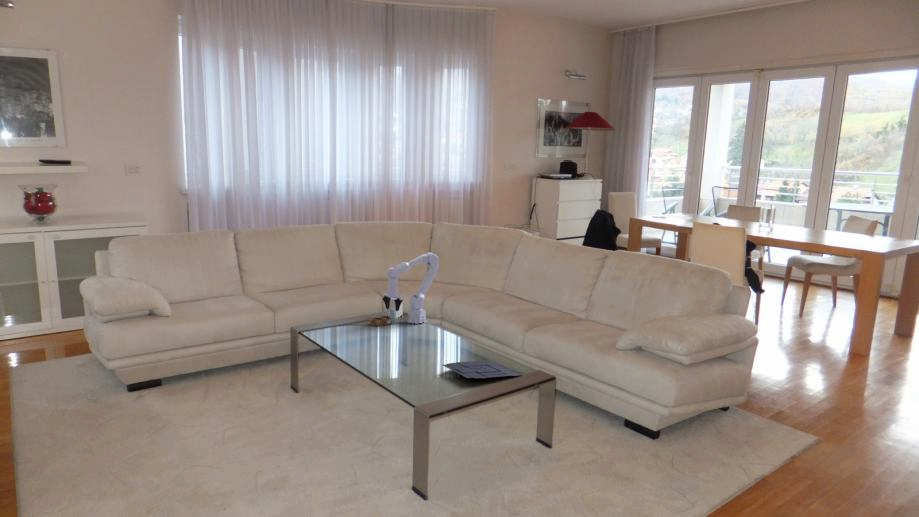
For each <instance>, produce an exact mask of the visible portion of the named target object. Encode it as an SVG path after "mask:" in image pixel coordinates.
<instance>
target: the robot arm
mask: <svg viewBox="0 0 919 517" xmlns="http://www.w3.org/2000/svg"><path fill="white" fill-rule="evenodd" d="M439 262H440V258H439V256H438V255H437V254H435V253H433V252H430V251H428V252H426V253H422V254H420V255H419V256H417V257H415V258H413V259H412V260H410V261H409V262H406V261H404V262H403V261H401V262H400V263H399V264H396V265H393V267H389V268H388V270H387V272H386V273H387V292H385V293H382V301H383V303H384V306H385V309H386V310H387V309H389V307H390V299H391V298H395V299H396V300H394V301H395V307H396V311H399V308H400V305H401V303H402V304H403V301H404V296H403V295H399V294H398V290H399V289H398V283H399V280H398V278H399V275H403V274H404V273H406V272H408V271H410V269H411V268H412V267H414V266H417V265H419V264H421V263H425V264H427V266H428V268H429V269H428V270H427V273H426V275H425V276H424V279H423V280H422V282H421V283H420V285H419V287H418V289H417V291H416V292H414V293H413V295H411V297H410V298H409V300H408V302H409V305H410V307H409V309H410V310H409V320H407V321H406V323H409V324H410V323H411V324H414V323H415V324H414V325H419V324H418V323H422V322H424V323H422V324H425V323H427V311H426V309H424V308H423V305H424V301H425V297H426V293H427V292H428V290H429V288H430V287H431V285H432V283H433V281H434V279H435V277H436V275H437V274H438V272H439V268H440V267H439Z"/></svg>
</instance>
